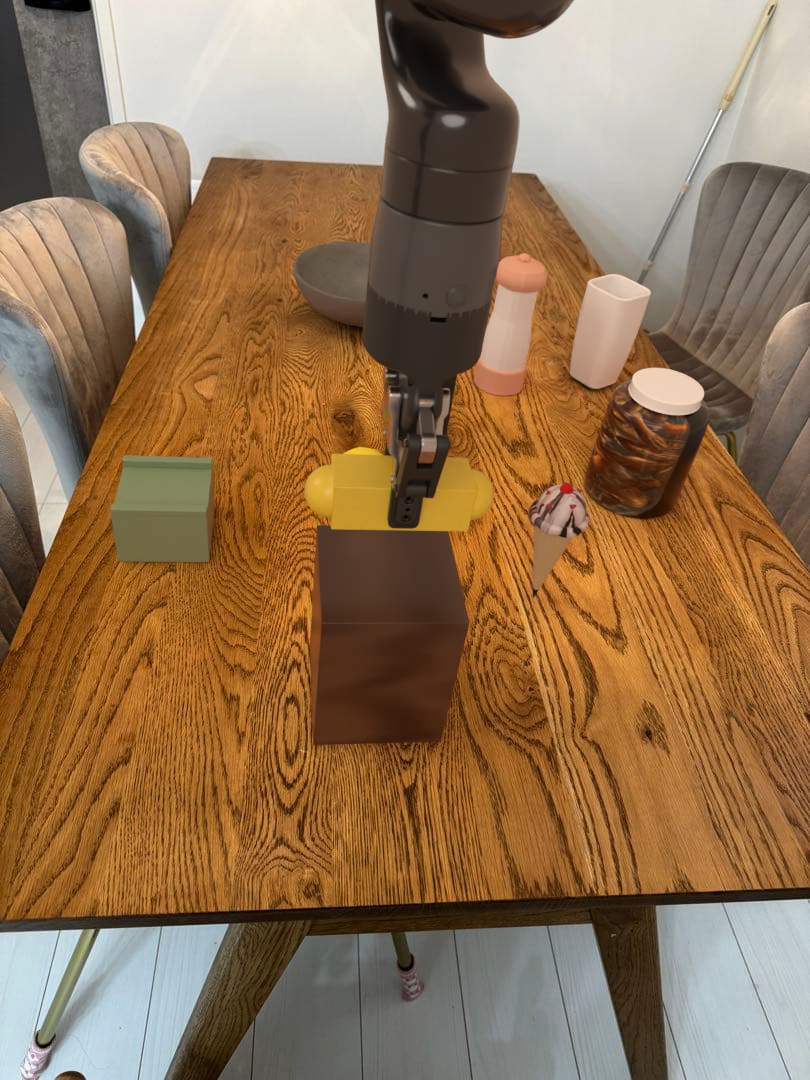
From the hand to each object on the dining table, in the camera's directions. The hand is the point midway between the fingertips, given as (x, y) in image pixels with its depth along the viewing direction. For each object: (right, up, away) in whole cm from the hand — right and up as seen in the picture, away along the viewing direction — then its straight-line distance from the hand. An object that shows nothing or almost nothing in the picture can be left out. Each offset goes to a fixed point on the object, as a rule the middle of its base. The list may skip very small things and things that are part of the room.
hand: (399, 504), depth 59 cm
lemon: (-5, +3, +37) cm, 37 cm away
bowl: (-7, +33, +71) cm, 78 cm away
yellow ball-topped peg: (0, -1, +1) cm, 1 cm away
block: (-25, -2, +27) cm, 36 cm away
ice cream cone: (+14, -9, +26) cm, 31 cm away
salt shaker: (+14, +20, +60) cm, 64 cm away
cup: (+29, +21, +63) cm, 73 cm away
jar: (+29, +3, +43) cm, 52 cm away
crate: (-2, -16, +14) cm, 22 cm away
